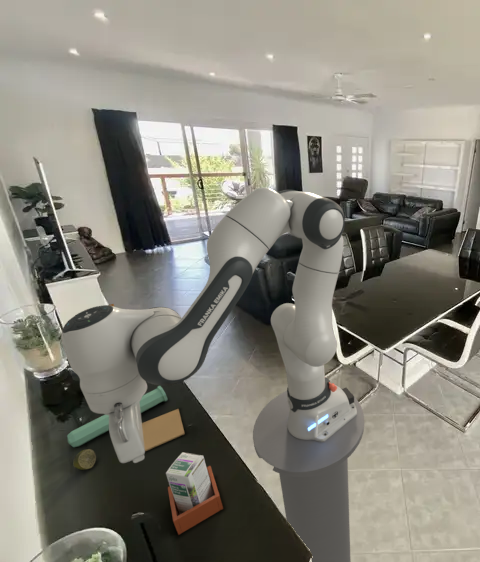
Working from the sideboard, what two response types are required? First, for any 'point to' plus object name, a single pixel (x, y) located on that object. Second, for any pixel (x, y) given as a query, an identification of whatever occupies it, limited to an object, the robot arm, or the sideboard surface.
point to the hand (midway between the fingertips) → (137, 441)
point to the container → (102, 423)
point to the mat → (162, 429)
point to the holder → (196, 508)
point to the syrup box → (189, 481)
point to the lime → (84, 459)
